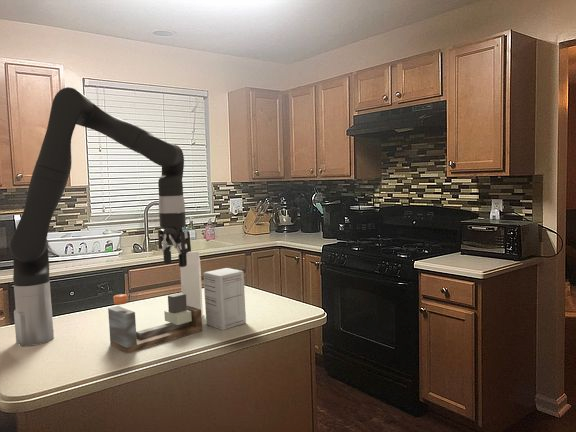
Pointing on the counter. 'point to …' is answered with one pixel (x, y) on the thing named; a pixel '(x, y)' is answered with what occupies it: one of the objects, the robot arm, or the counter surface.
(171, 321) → the carriage
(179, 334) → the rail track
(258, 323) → the counter surface
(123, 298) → the button
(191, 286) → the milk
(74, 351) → the counter surface
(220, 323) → the supplement box
